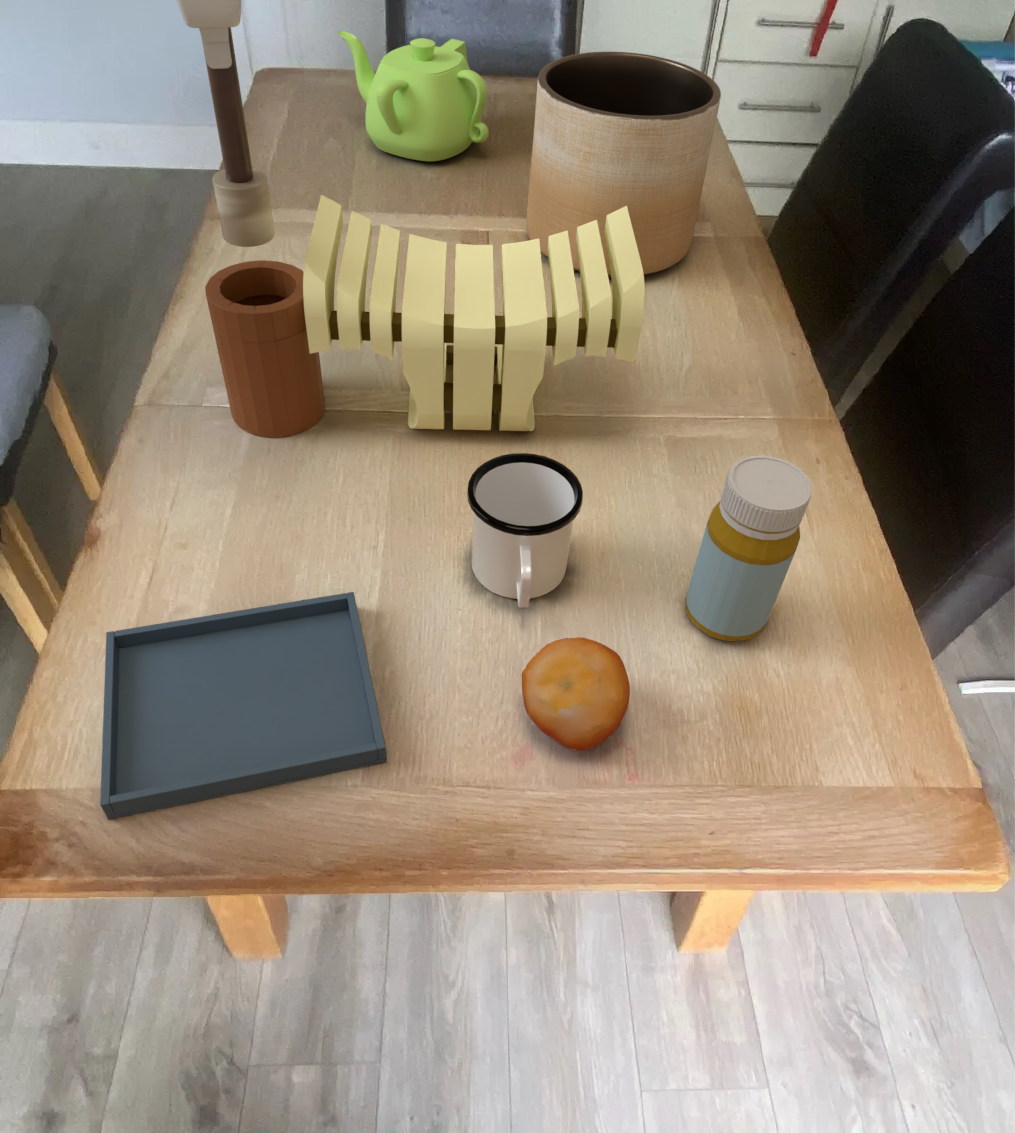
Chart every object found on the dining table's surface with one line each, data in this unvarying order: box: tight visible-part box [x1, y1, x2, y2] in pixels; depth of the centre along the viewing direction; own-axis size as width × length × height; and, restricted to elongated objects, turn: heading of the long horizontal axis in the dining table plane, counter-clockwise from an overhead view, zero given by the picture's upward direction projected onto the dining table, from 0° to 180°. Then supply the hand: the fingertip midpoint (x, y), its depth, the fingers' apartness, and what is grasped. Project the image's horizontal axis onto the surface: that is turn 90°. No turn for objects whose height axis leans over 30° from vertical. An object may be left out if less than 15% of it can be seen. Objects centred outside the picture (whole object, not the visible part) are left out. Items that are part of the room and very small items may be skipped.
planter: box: [526, 51, 722, 278], centre depth 114 cm, size 22×22×20 cm
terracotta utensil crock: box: [204, 259, 326, 438], centre depth 88 cm, size 9×9×14 cm
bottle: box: [684, 454, 813, 642], centre depth 72 cm, size 7×7×15 cm
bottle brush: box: [201, 27, 276, 248], centre depth 71 cm, size 4×4×19 cm
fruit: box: [520, 636, 631, 751], centre depth 67 cm, size 8×8×8 cm
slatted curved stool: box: [303, 194, 645, 432], centre depth 90 cm, size 30×16×18 cm, turn 92°
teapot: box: [337, 30, 489, 162], centre depth 135 cm, size 19×20×14 cm
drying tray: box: [99, 591, 388, 820], centre depth 68 cm, size 19×15×2 cm
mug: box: [466, 452, 584, 609], centre depth 76 cm, size 12×10×9 cm
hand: (218, 57), depth 68 cm, fingers closed on bottle brush, 2 cm apart
